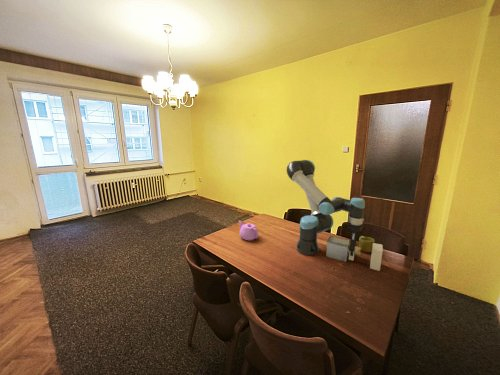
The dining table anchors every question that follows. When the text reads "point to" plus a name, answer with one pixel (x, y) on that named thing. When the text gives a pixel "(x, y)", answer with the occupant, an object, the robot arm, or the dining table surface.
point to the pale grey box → (337, 248)
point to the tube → (357, 250)
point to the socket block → (376, 256)
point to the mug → (366, 243)
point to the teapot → (248, 231)
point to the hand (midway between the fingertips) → (351, 257)
